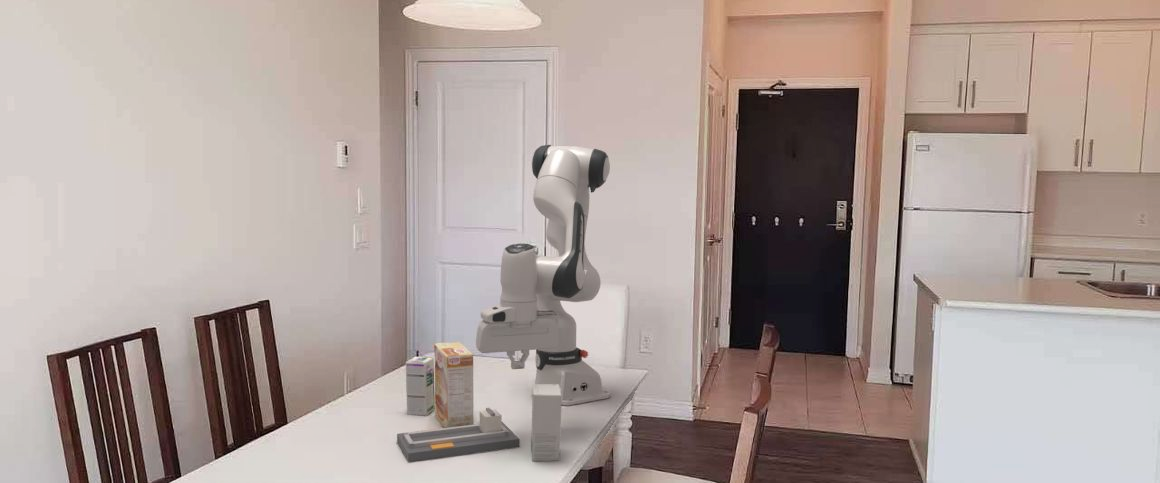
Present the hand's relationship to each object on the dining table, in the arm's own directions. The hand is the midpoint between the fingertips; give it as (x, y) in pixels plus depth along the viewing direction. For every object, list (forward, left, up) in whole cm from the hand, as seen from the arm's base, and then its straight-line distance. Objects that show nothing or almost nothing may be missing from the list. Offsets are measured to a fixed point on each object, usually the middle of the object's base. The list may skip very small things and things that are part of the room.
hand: (517, 368), depth 191 cm
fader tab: (+7, 0, -15) cm, 16 cm away
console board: (+15, 0, -17) cm, 23 cm away
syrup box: (+18, -28, -17) cm, 38 cm away
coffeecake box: (+12, -16, -17) cm, 26 cm away
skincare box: (-2, +14, -17) cm, 22 cm away
